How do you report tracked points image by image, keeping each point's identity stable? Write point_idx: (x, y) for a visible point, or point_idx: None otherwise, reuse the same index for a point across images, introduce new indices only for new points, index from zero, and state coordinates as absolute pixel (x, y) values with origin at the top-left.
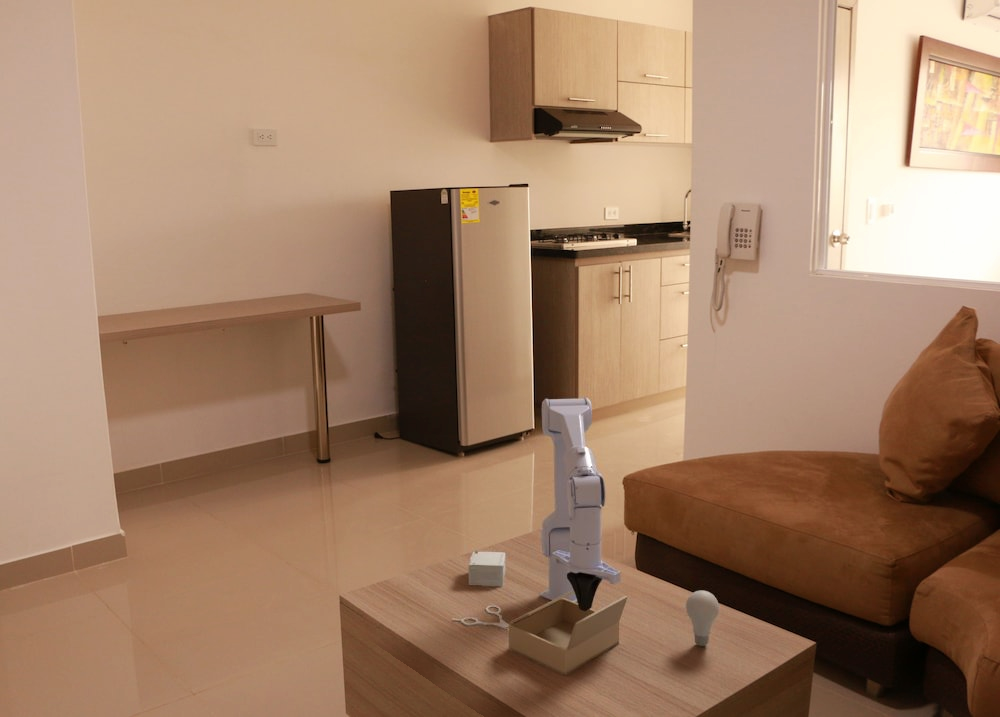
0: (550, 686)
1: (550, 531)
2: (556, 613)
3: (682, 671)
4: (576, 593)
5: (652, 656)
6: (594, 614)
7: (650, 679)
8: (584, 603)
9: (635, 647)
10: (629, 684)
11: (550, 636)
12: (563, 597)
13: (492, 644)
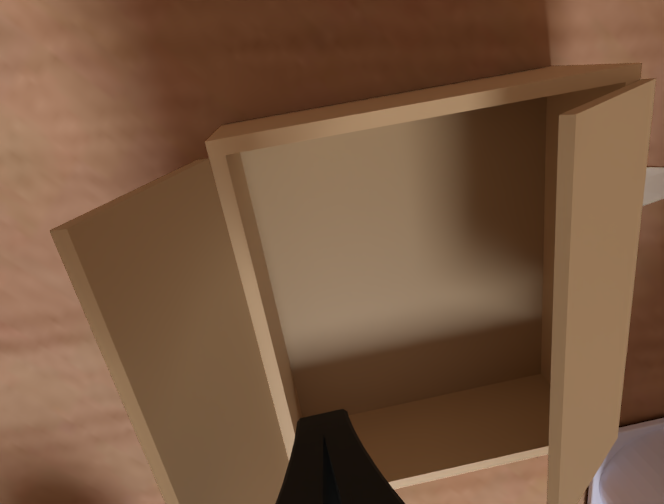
0: (184, 6)
1: None
2: None
3: (20, 481)
4: (369, 495)
5: None
6: (138, 433)
7: (23, 374)
8: (289, 462)
9: None
10: (26, 295)
11: (492, 267)
12: (552, 424)
13: (636, 34)
